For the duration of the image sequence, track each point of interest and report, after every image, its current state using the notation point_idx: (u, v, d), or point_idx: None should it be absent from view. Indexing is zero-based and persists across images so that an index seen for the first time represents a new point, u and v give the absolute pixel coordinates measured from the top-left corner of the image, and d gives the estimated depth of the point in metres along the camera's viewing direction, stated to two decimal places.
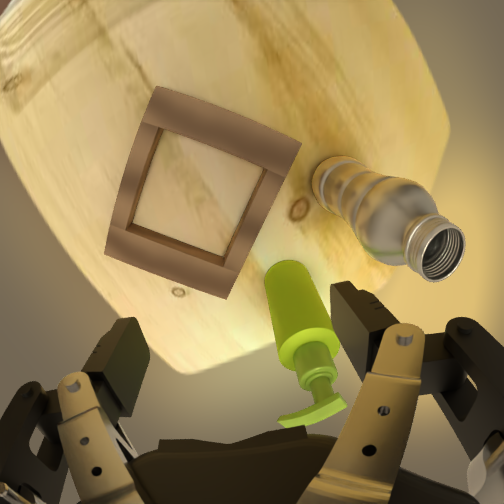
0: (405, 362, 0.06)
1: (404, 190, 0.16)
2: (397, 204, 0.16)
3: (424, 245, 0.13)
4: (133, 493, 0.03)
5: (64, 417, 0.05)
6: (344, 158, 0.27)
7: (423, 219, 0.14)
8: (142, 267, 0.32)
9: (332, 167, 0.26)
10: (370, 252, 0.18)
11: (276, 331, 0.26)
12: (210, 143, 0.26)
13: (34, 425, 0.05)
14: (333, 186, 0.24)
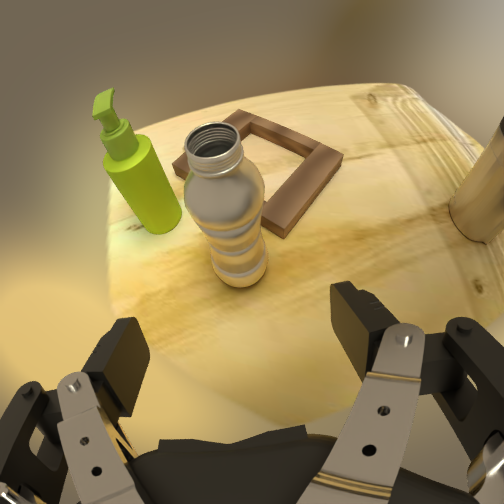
0: (405, 362, 0.06)
1: (258, 176, 0.20)
2: (248, 162, 0.20)
3: (228, 124, 0.17)
4: (133, 493, 0.03)
5: (64, 417, 0.05)
6: (266, 255, 0.31)
7: None
8: None
9: None
10: None
11: None
12: (295, 172, 0.37)
13: (34, 425, 0.05)
14: None
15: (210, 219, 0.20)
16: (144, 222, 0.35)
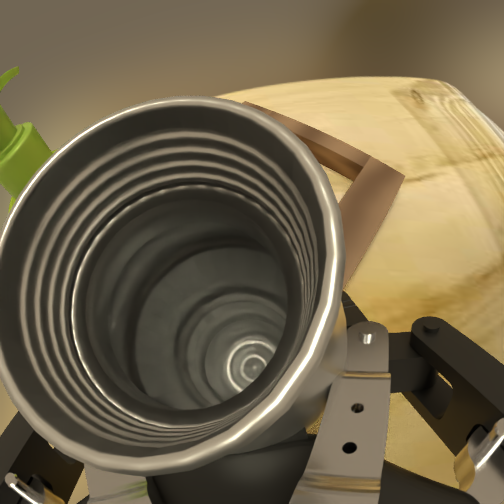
0: (371, 359, 0.06)
1: (340, 316, 0.06)
2: None
3: (236, 107, 0.03)
4: (133, 493, 0.03)
5: None
6: None
7: None
8: None
9: None
10: (174, 228, 0.08)
11: None
12: (339, 205, 0.23)
13: None
14: (271, 316, 0.15)
15: None
16: None
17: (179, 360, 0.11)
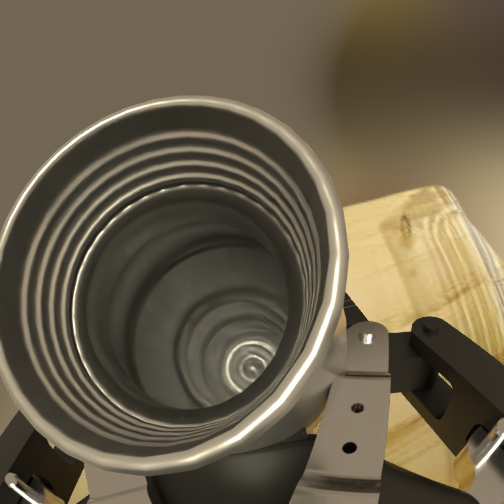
0: (370, 358, 0.06)
1: None
2: None
3: (239, 107, 0.03)
4: (133, 493, 0.03)
5: None
6: None
7: None
8: None
9: None
10: (174, 228, 0.08)
11: None
12: None
13: None
14: None
15: None
16: None
17: (179, 360, 0.11)
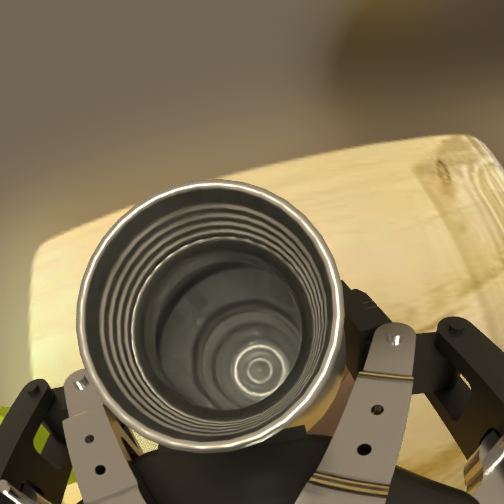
0: (396, 361, 0.06)
1: None
2: None
3: (268, 193, 0.04)
4: (133, 493, 0.03)
5: (70, 414, 0.05)
6: None
7: None
8: None
9: None
10: None
11: None
12: None
13: (39, 423, 0.05)
14: None
15: None
16: None
17: (196, 367, 0.12)
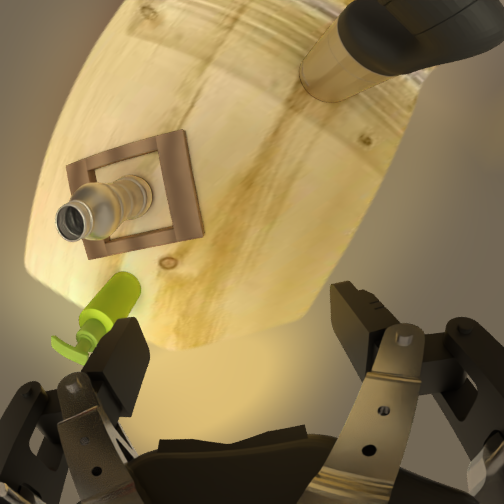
0: (405, 362, 0.06)
1: (100, 192, 0.25)
2: (88, 192, 0.25)
3: (63, 205, 0.21)
4: (133, 493, 0.03)
5: (64, 417, 0.05)
6: (141, 182, 0.37)
7: (80, 201, 0.23)
8: None
9: (128, 178, 0.36)
10: None
11: (92, 301, 0.34)
12: (166, 186, 0.38)
13: (34, 425, 0.05)
14: (112, 183, 0.33)
15: (108, 235, 0.27)
16: None
17: None
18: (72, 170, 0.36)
